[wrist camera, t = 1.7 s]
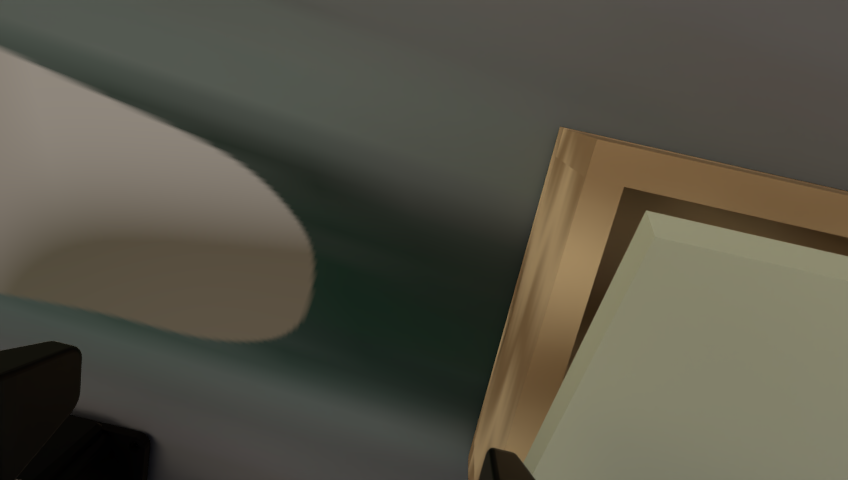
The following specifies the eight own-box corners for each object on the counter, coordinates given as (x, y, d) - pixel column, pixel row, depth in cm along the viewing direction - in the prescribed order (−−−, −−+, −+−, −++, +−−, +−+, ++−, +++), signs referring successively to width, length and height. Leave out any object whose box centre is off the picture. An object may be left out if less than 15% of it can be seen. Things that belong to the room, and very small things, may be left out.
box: (796, 535, 23) (907, 684, 17) (468, 456, 23) (467, 575, 17) (953, 215, 19) (1161, 266, 13) (560, 126, 20) (597, 139, 14)
